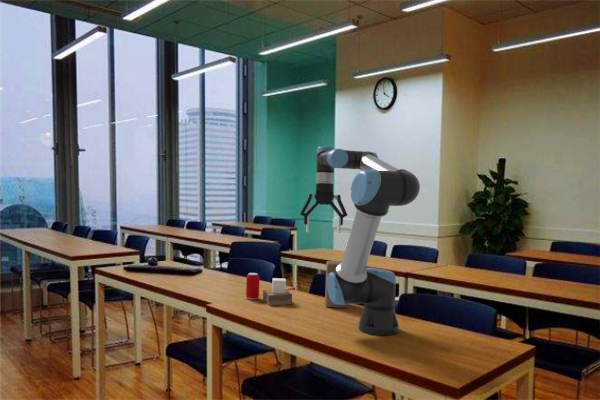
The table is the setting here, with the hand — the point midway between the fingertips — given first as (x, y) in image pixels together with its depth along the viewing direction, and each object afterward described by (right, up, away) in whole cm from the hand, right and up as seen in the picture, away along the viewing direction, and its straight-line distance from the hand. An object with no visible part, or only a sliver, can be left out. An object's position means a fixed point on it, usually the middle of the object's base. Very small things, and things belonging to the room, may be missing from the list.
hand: (323, 232), depth 195 cm
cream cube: (-20, -29, +18) cm, 40 cm away
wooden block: (+7, -35, +16) cm, 39 cm away
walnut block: (-21, -34, +18) cm, 44 cm away
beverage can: (-33, -34, +24) cm, 53 cm away
